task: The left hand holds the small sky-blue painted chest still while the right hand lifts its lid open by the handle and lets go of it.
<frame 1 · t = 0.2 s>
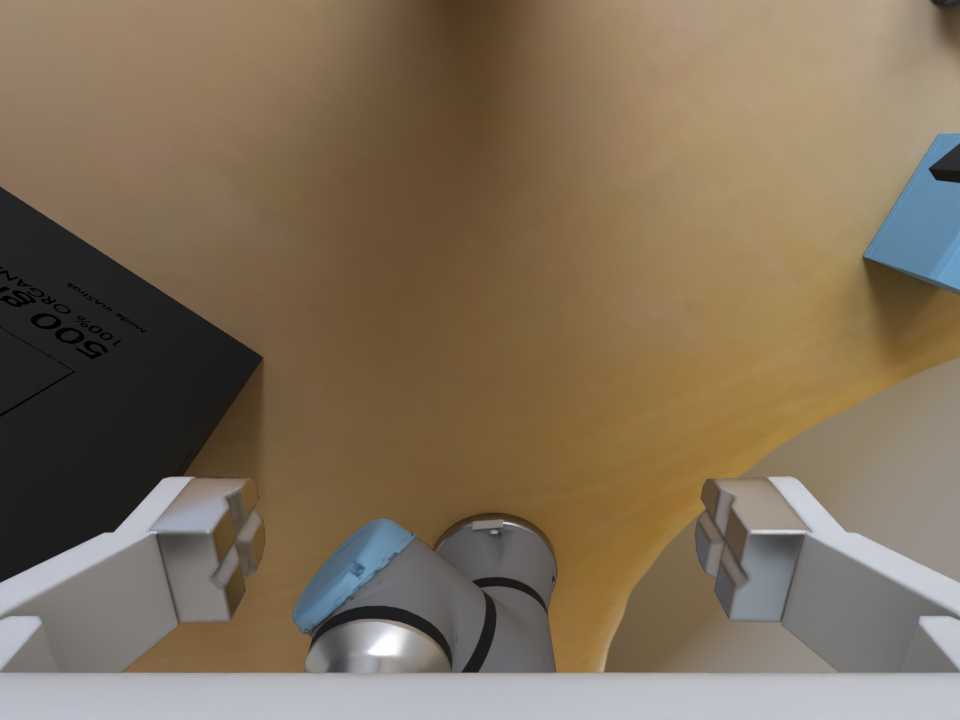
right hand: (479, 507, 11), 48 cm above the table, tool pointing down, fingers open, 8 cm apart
chest: (939, 214, 55), on the table
dark boxy piece: (56, 325, 60), on the table
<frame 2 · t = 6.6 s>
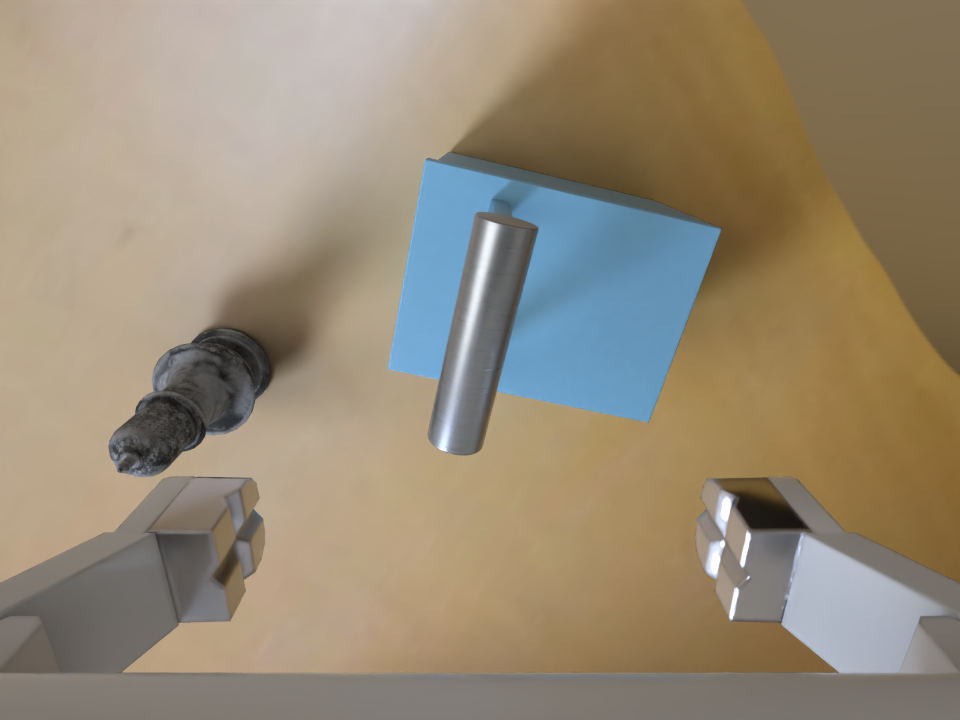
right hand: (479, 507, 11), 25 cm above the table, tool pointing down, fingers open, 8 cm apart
dark grey turned figure: (229, 366, 37), on the table
lid: (556, 326, 22), point 13 cm above the table, hinge at 0.0°
chest: (532, 256, 34), on the table
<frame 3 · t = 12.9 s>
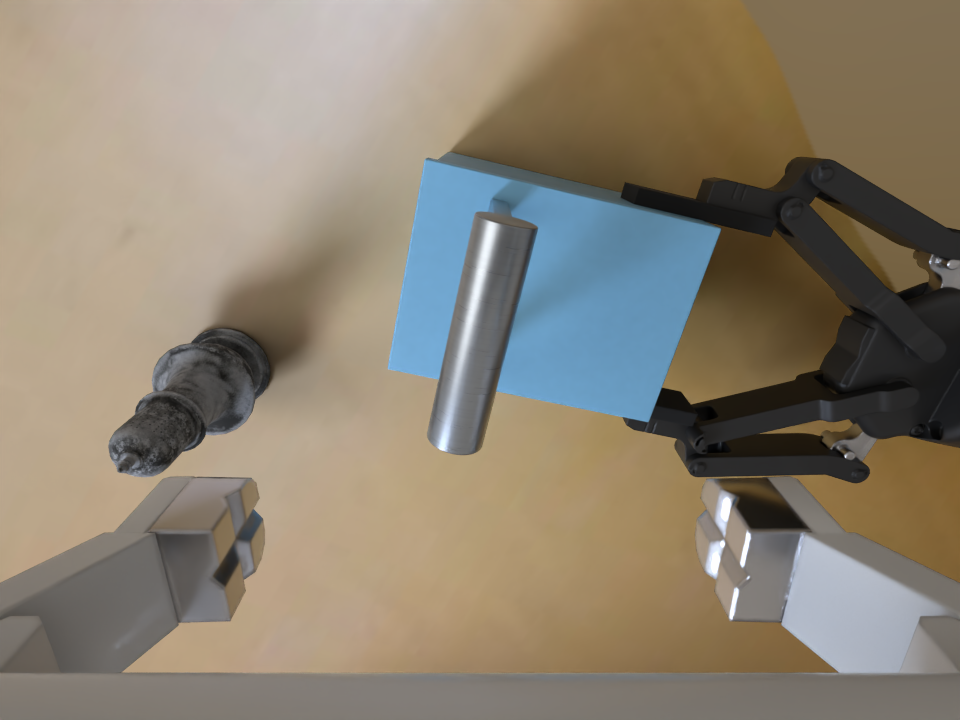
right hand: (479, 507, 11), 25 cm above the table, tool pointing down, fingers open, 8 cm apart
left hand: (597, 295, 29), fingers closed on chest, 9 cm apart
dark grey turned figure: (229, 366, 37), on the table
lid: (555, 325, 22), point 13 cm above the table, hinge at 0.0°
chest: (532, 256, 34), on the table, touching left hand
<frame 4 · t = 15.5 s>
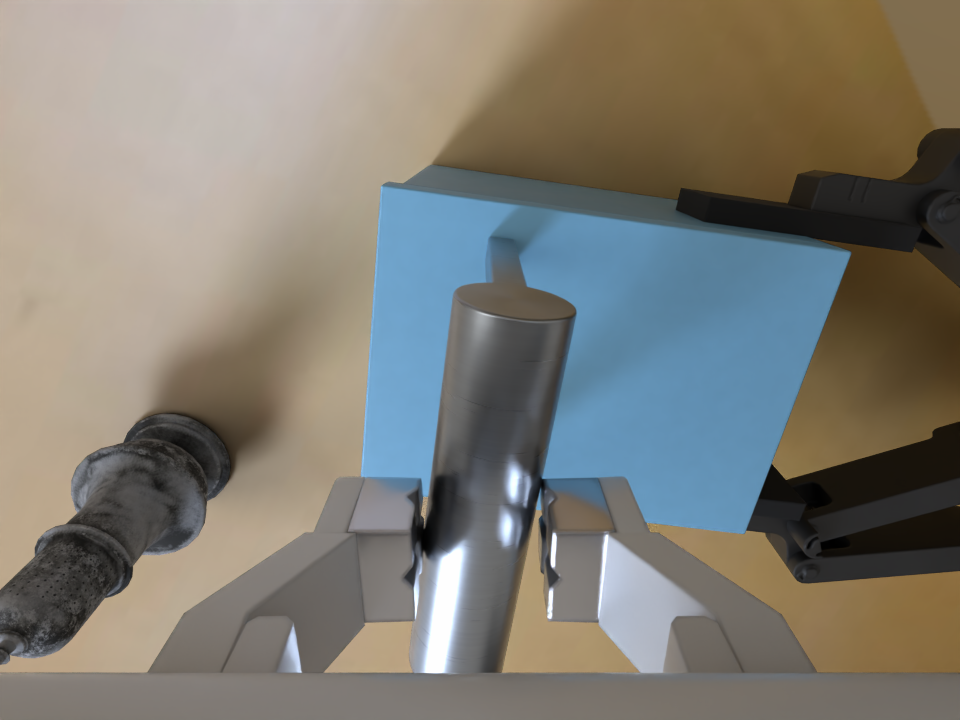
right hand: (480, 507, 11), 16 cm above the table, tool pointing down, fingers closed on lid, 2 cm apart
left hand: (652, 350, 20), fingers closed on chest, 9 cm apart
dark grey turned figure: (179, 458, 29), on the table
lid: (607, 435, 14), point 13 cm above the table, hinge at -0.1°, touching right hand
chest: (552, 291, 26), on the table, touching left hand
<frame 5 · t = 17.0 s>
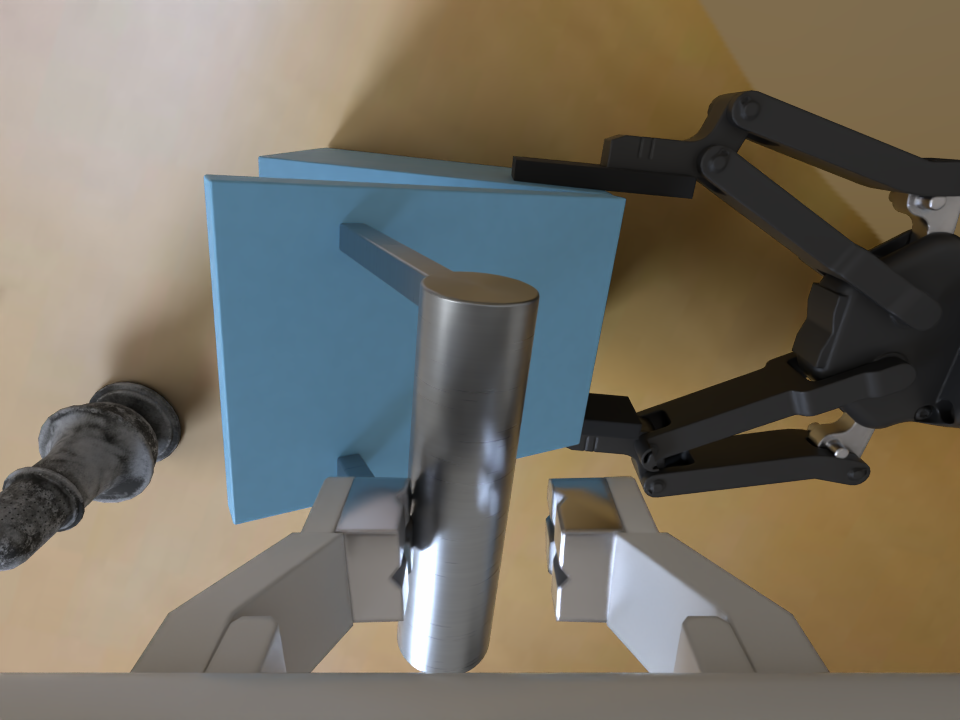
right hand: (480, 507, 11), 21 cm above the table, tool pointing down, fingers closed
left hand: (499, 296, 24), fingers closed on chest, 9 cm apart
dark grey turned figure: (136, 421, 34), on the table
lid: (502, 392, 15), point 16 cm above the table, hinge at 30.6°, touching right hand
chest: (443, 256, 29), on the table, touching left hand
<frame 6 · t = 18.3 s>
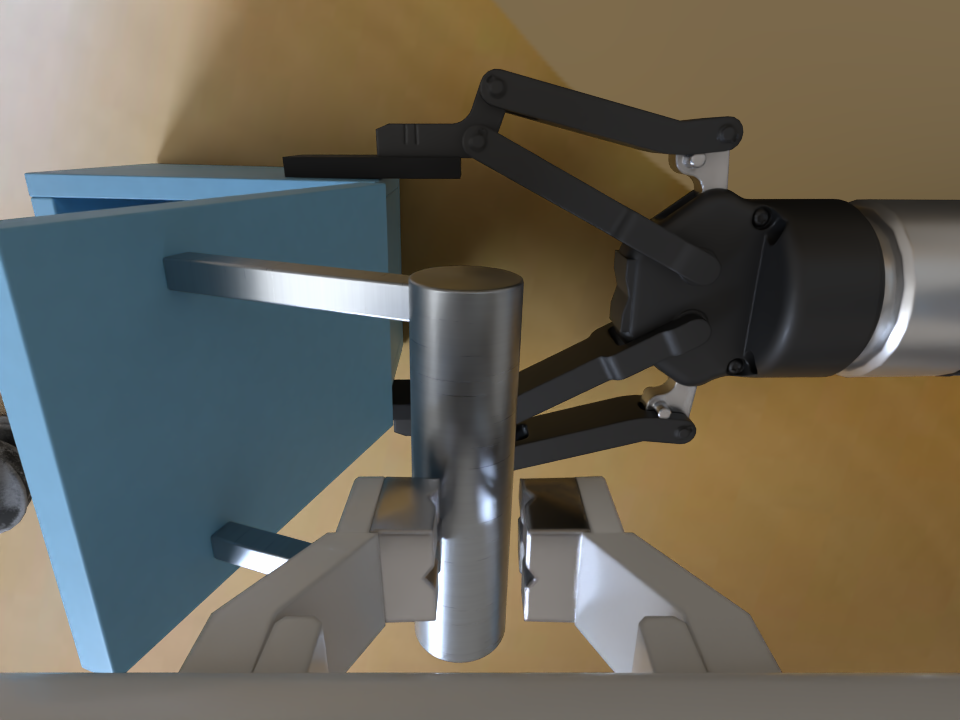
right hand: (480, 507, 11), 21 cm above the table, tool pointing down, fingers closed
left hand: (308, 291, 24), fingers closed on chest, 9 cm apart
dark grey turned figure: (19, 454, 34), on the table
lid: (388, 390, 15), point 17 cm above the table, hinge at 68.7°, touching right hand
chest: (285, 260, 30), on the table, touching left hand
when the left hand's fingers open (6 cm above the table, at t = 22.4 s): chest stays where it is, on the table.
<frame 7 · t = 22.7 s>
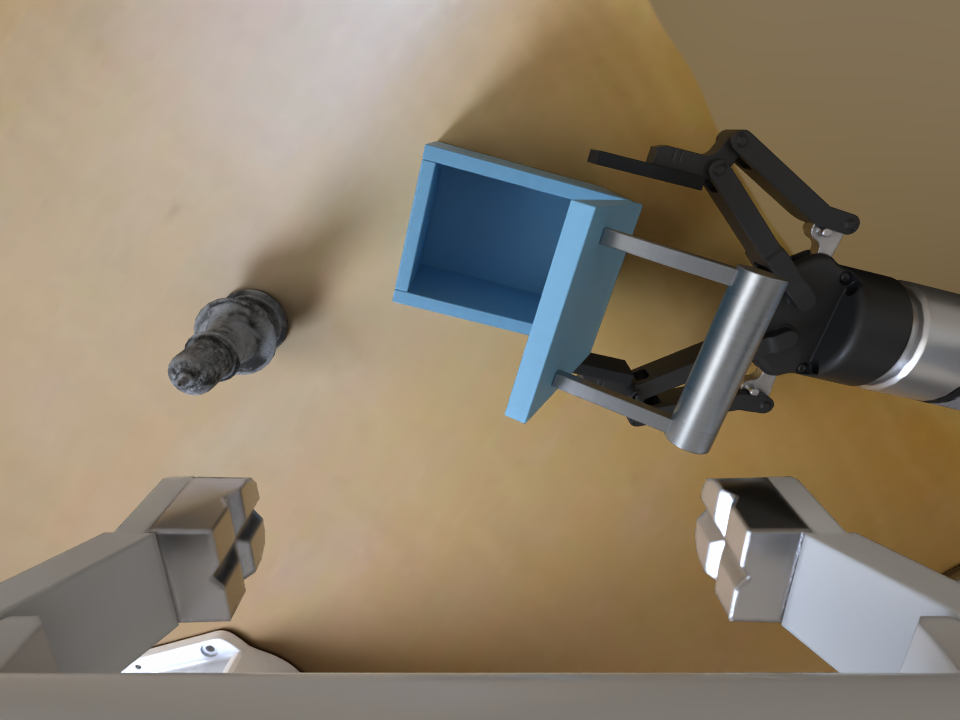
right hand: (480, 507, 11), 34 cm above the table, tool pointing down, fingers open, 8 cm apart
left hand: (562, 260, 37), fingers open, 12 cm apart
dark grey turned figure: (254, 321, 45), on the table
lid: (655, 321, 27), point 17 cm above the table, hinge at 66.2°
chest: (502, 228, 42), on the table
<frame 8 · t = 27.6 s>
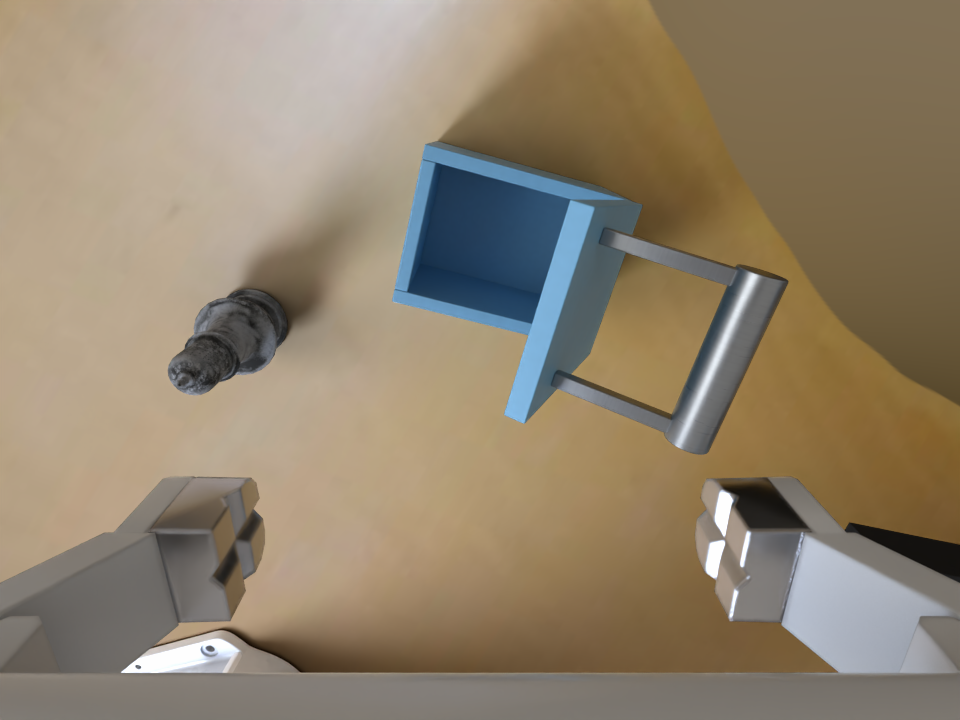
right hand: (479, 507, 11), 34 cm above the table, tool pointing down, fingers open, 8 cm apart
dark grey turned figure: (254, 321, 45), on the table
lid: (655, 321, 27), point 17 cm above the table, hinge at 66.2°
chest: (502, 228, 42), on the table
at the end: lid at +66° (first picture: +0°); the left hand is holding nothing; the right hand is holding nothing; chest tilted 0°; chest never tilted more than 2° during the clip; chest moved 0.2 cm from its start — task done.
